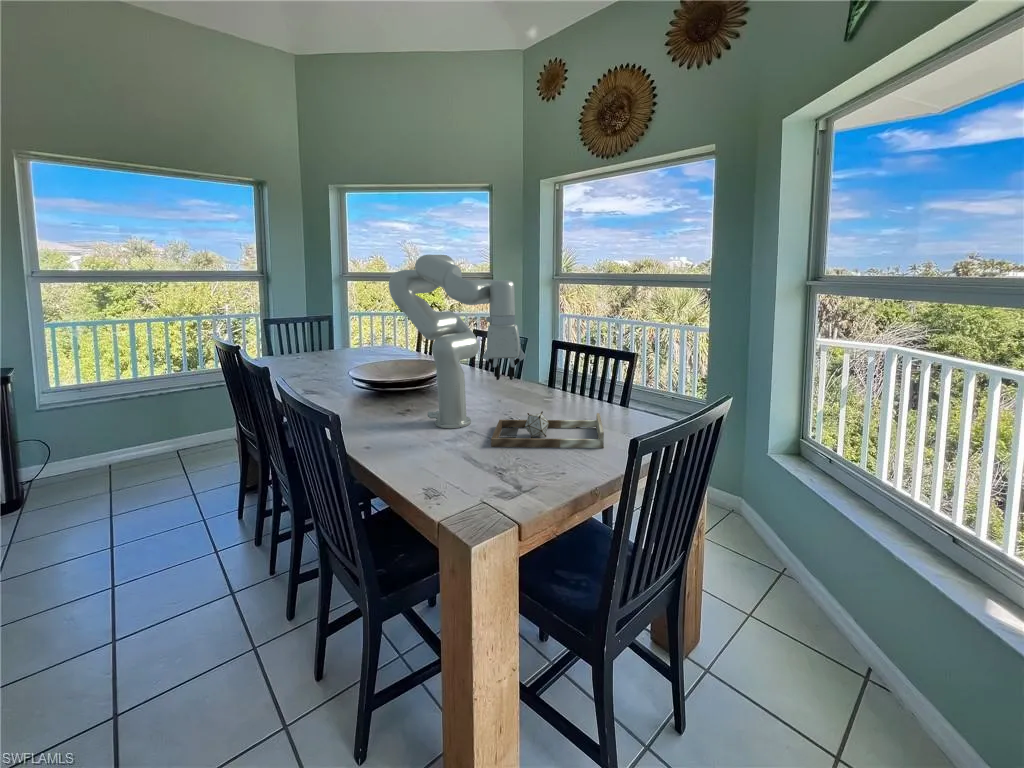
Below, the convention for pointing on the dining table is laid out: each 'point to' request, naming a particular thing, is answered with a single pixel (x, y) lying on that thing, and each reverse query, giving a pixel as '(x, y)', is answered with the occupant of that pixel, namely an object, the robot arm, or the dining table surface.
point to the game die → (537, 424)
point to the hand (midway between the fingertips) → (504, 378)
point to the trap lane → (510, 441)
